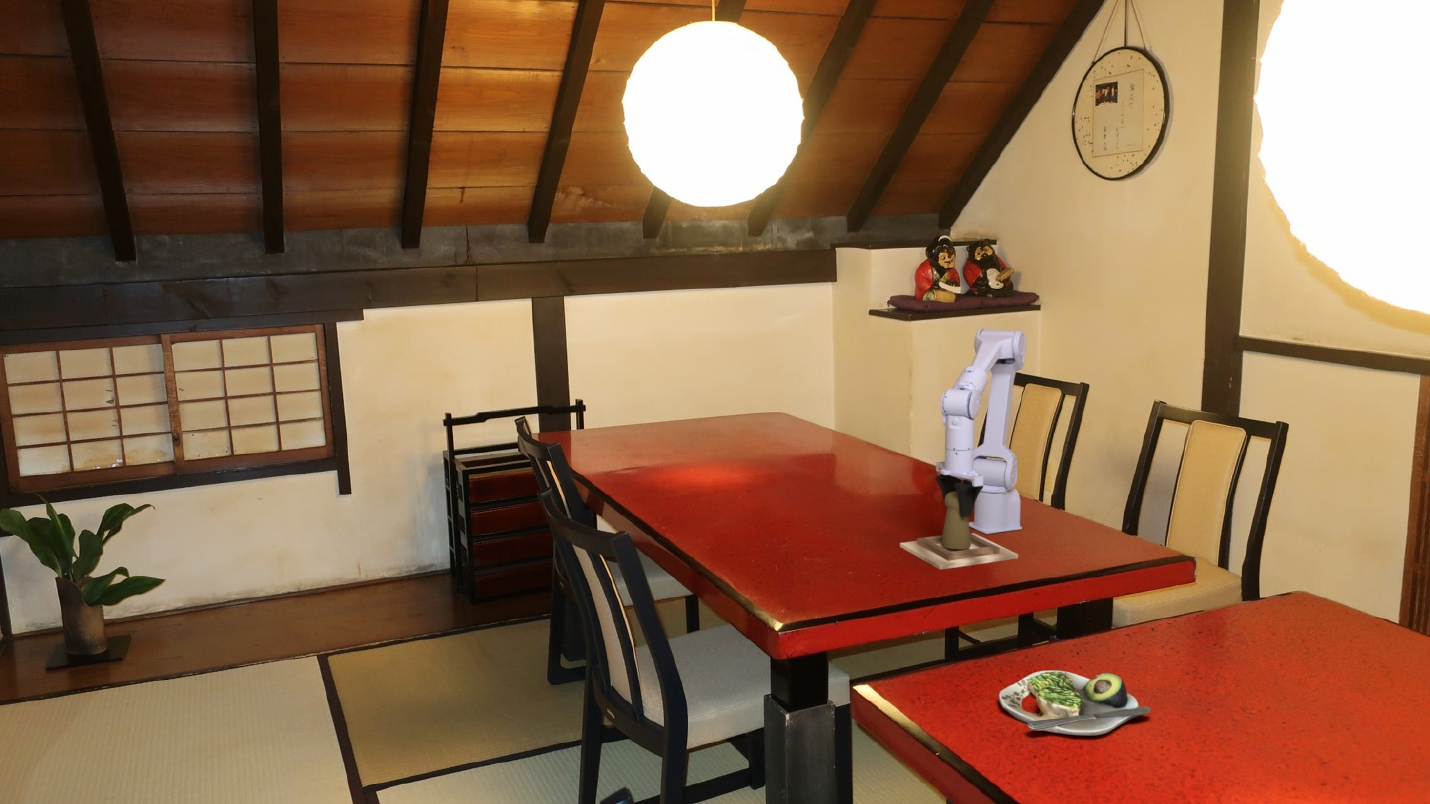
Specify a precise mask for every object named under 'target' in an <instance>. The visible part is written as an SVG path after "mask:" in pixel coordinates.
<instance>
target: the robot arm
mask: <svg viewBox="0 0 1430 804" xmlns="http://www.w3.org/2000/svg"><path fill="white" fill-rule="evenodd" d="M973 342H974V343H973V345H974V346H973V348H974V353H975V356H974V358H973V360H972V363H971V365H970V366H969V365H968V366H966V367H965V368H964V369H963V370H962V371H961V373H960V374H959V376H958V378H957V379H956V382H955V383H954V385H953V387H952V388H949V389H948V390H945V391H944V392H943V394H942V395H941V400H940V413H941V415H942V425H943V426H944V428H945V429H944V430H945V431H944V461H937V462H935V463H936V464H935V471H936V472H937V473H939V474H940V475H935V477H934V479H935V481H936V483H937V485H938V486H939V489H940V492H941V495H942V499H943V503H944V507H945V510H946V511H947V507H946V506H945V497H946V495H947V494H948V493H950V492H957V494H958V498H959V509H960V515H961V517H968V518H969V517H972V515H973V511H974V518H973V521H969V528H973V529H975V530H976V531H978V532H980V533H983V534H984V535H989V534H997V533H1003V532H1004V533H1005V532H1011V531H1018V530H1023V527H1022V526H1021V498H1020V493H1019V492H1018V490H1017V489H1016V488H1015V487H1016V484H1017V481H1018V475H1019V474H1018V473H1019V472H1018V470H1019V469H1018V457H1017V455H1016V453H1014V452H1013V451H1012V450H1011V449H1010V448H1009V447H1008V446H1007V439H1008V431H1009V423H1010V416H1011V407H1012V399H1013V390H1014V383H1015V377H1016V374H1017V372H1018V371H1020V370H1023V368H1024V364H1025V359H1026V350H1027V340H1026V335H1025V333H1024V331H1023V330H1022V329H1018V330H1011V329H1010V330H1009V329H1008V330H1006V329H988V328H987V329H986V328H979V330H978V331H977V332H976V334H975V336H974V340H973ZM989 372H991V378H990V379H991V381H990V387H989V388H990V389H989V396H988V405H987V413H986V420H985V421H986V422H985V429H984V438H983V443H982V444H981V445H979V446H978V447H976V448H975V419H976V417H978V415H979V411H980V405H981V402H982V398H981V396H982V394H983V392H984V391H985V389H986V387H987V386H988V383H989V375H988V374H989ZM989 458H990V459H989ZM999 459H1000V460H999ZM1001 459H1002V460H1001Z"/></svg>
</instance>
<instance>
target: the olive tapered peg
mask: <svg viewBox="0 0 1430 804" xmlns="http://www.w3.org/2000/svg"><path fill="white" fill-rule="evenodd" d="M945 506H946V507H947V510H946V513H945V518H944V525H943V530H942V540H941V545H942V546H944V547H947V548H951V549H966V548H969V547H971V541H970V534H971V531H970V526H969V522H970V521H969V516H968V517H961V515H960V509H959V498H958V494H957V492H950V493H948V494H947V495H946V497H945V504H944V507H945Z"/></svg>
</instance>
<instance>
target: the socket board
mask: <svg viewBox="0 0 1430 804" xmlns="http://www.w3.org/2000/svg"><path fill="white" fill-rule="evenodd" d="M942 535H943V534H942ZM942 535H934V536H933V535H932V536H926V537H919V538H917V540H914V541H912V540H911V541H907V542H900V543H899V548H902V549H903V550H904V551H906V552H908V553H910V554H912V555H913V556H916V557H917V558H919V559H921V560H922V561H924V562H926V563H928V564H929V565H931V566H933V567H934V568H936V569H938V570H947V569H948V570H949V569H953V568H962V567H968V566H976V565H982V564H989V563H995V562H1002V561H1008V560H1017V559H1019V554H1018V553H1016V552H1015V551H1014V552H1013V551H1011V550H1010V549H1007V548H1006V547H1003V546H1001V545H999V544H997V543H996V542H993V541H991V540H989V539H987V538H985V537H983V536H981V535H979V534H977V533H975V532H974V533H973V532H972V533H971V532H970V541H971V547H969V548H966V549H951V548H947V547H944V546H942V545H941V540H942Z"/></svg>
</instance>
